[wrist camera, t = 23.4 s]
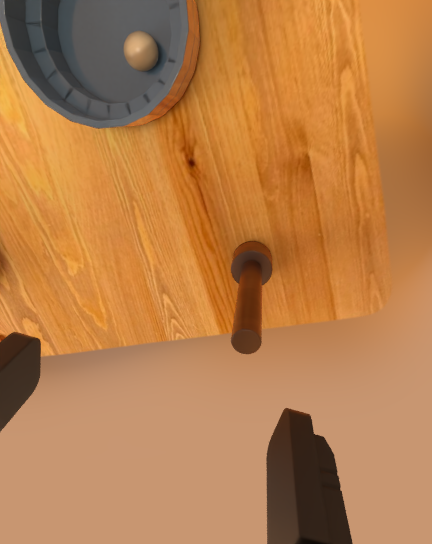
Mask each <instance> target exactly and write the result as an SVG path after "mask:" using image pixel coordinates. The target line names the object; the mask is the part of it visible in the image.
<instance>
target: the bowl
mask: <svg viewBox="0 0 432 544" xmlns="http://www.w3.org/2000/svg"><path fill="white" fill-rule="evenodd" d="M0 23H1V27H2V31H3V34H4V38H5V42H6V46H7V49H8V52H9V54H10V55H11V57H12V59H13V61H14V63H15V65H16V67H17V68H18V70H19V72H20V74H21V76H22V78H23V80H24V81H25V82H26V83H27V85H28V86H29V87H30V88H31V89H32V90H33V91H34V92H35V93H36V95H37V96H38V97H39V98H40V99H41V100H42V101H43V102H44V104H45V105H47V106H48V107H50V108H51V109H53V110H54V111H56V112H57V113H59V114H61V115H62V116H64V117H65V118H67V119H68V120H70V121H72V122H75V123H79V124H83V125H86V126H90V127H93V128H98V129H99V128H113V127H127V126H140V125H144V124H146V123H149V122H151V121H153V120H155V119H157V118H159V117H161V116H163V115H165V114H166V113H167V112H168V111H169V110H170V109H171V108H172V107H173V106H174V105H175V104H176V103H177V102H178V101H179V100H180V99H181V97H182V96H183V94H184V92H185V90H186V88H187V86H188V84H189V82H190V80H191V78H192V76H193V74H194V71H195V66H196V61H197V56H198V51H199V45H200V33H199V20H198V9H197V6H196V3H195V0H0ZM135 31H143V32H146V33H148V34H149V35H150V36H152V38H153V39H154V40H155V42H156V44H157V47H158V60H157V63H156V64H155V66H154V67H153V68H152V69H150V70H148V71H138V70H136V69H134V68H132V67H131V66H130V65H129V63H128V62H127V60H126V58H125V55H124V42H125V40H126V38H127V37H128V35H129V34H131V33H132V32H135Z"/></svg>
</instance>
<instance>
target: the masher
mask: <svg viewBox="0 0 432 544" xmlns="http://www.w3.org/2000/svg"><path fill="white" fill-rule="evenodd" d="M231 273H232V276H233V278H234V279H235V281H236V282H237V283H239V288H238V295H237V302H236V309H235V316H234V323H233V330H232V337H231V343H232V346H233V347H234V349H235V350H236V351H238V352H240V353H243V354H251V353H254V352H256V351H257V350H258V349H259V348H260V346H261V322H262V285H264V284H265V283H266V282H267V281H268V280H269V279H270V277H271V274H272V257H271V253H270V251H269V250H268V248H267V247H266V246H265V245H263V244H261V243H259V242H253V241H251V242H246V243H243V244H242V245H240V246H239V247H238V248H237V249H236V251H235V253H234V256H233V260H232V265H231Z"/></svg>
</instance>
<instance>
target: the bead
mask: <svg viewBox="0 0 432 544" xmlns="http://www.w3.org/2000/svg"><path fill="white" fill-rule="evenodd" d="M124 55H125V58H126V60H127V62H128V63H129V65H130V66H131V67H132V68H134V69H136V70H138V71H148V70H150V69H152V68H153V67H154V66H155V64H156V63H157V60H158V47H157V44H156V42H155V40H154V39H153V38H152V36H150V35H149V34H148V33H146V32H143V31H135V32H132V33H131V34H129V35H128V37H127V38H126V40H125V42H124Z"/></svg>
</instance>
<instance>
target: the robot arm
mask: <svg viewBox="0 0 432 544" xmlns="http://www.w3.org/2000/svg"><path fill="white" fill-rule="evenodd" d="M40 354H41V342H40V339H38V338H35V337H31V336H28V335H24V334H21V333H17V332H13V333H11V334H10V335H8V336H7V337H6V338H5V339H4V340H3V341H1V342H0V431H1V430H2V429H3V428H4V427H5V426H6V424H7V423H8V422H9V421H10V420H11V418H12V417H13V416H14V415H15V413H16V412H17V411H18V410H19V409H20V408H21V406H22V405H23V404H24V403H25V401H26V400H27V399H28V398H29V397H30V396H31V394H32V393H33V392H34V390H35V388H36V386H37V384H38V381H39V378H40ZM267 544H352V539H351V535H350V529H349V525H348V520H347V516H346V510H345V506H344V501H343V496H342V491H340V482H339V477H338V476H337V467H336V463H335V458H334V454H333V452H332V450H331V448H330V447H329V445H328V444H327V442H326V440H325V438H324V437H322V436H319V435H315V434H314V432H313V426H312V419H311V416H310V415H309V414H306V413H303V412H299V411H295V410H292V409H288V408H285V409H284V411H283V413H282V415H281V417H280V419H279V422H278V424H277V426H276V428H275V430H274V433H273V435H272V437H271V440H270V442H269V446H268V451H267Z"/></svg>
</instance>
